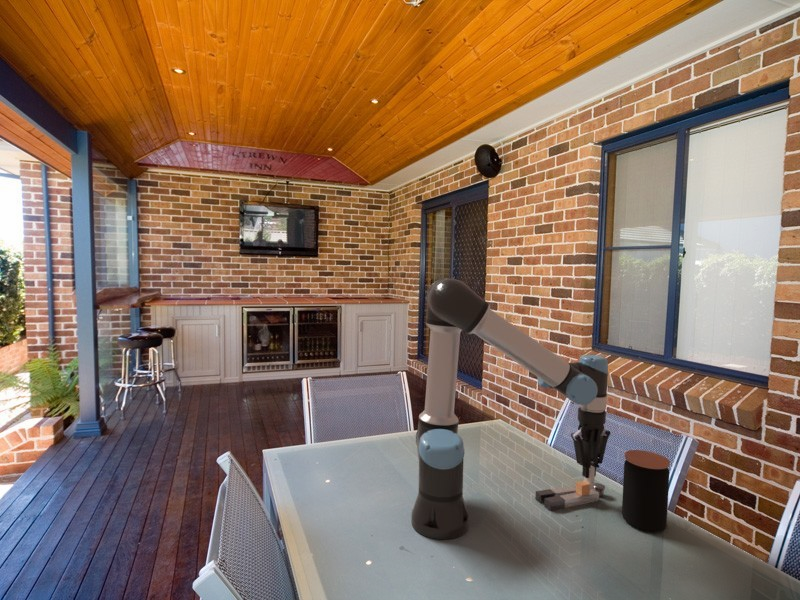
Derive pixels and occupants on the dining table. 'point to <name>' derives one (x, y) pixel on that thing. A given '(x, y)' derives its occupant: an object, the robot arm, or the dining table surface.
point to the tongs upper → (553, 493)
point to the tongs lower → (574, 498)
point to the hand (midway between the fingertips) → (588, 487)
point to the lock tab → (582, 488)
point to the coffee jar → (645, 490)
